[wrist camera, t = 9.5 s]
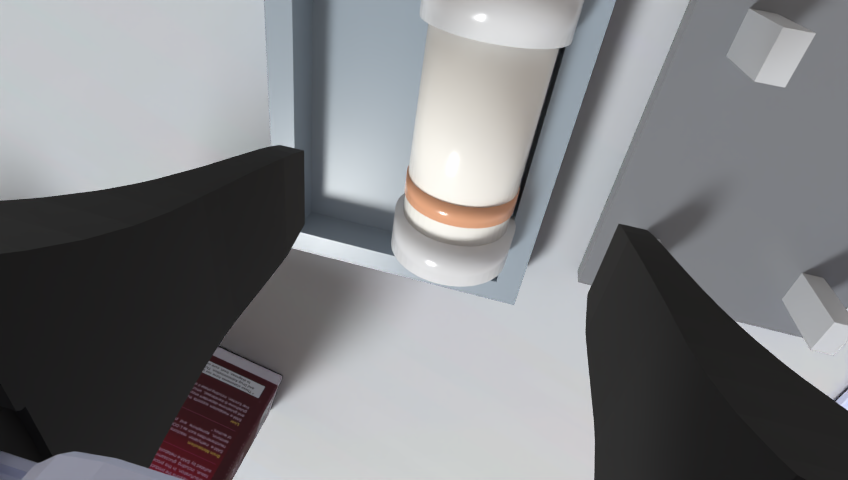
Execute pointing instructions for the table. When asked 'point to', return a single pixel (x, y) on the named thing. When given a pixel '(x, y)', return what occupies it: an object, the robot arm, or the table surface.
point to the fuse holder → (748, 164)
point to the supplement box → (218, 420)
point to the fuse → (475, 132)
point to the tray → (394, 123)
